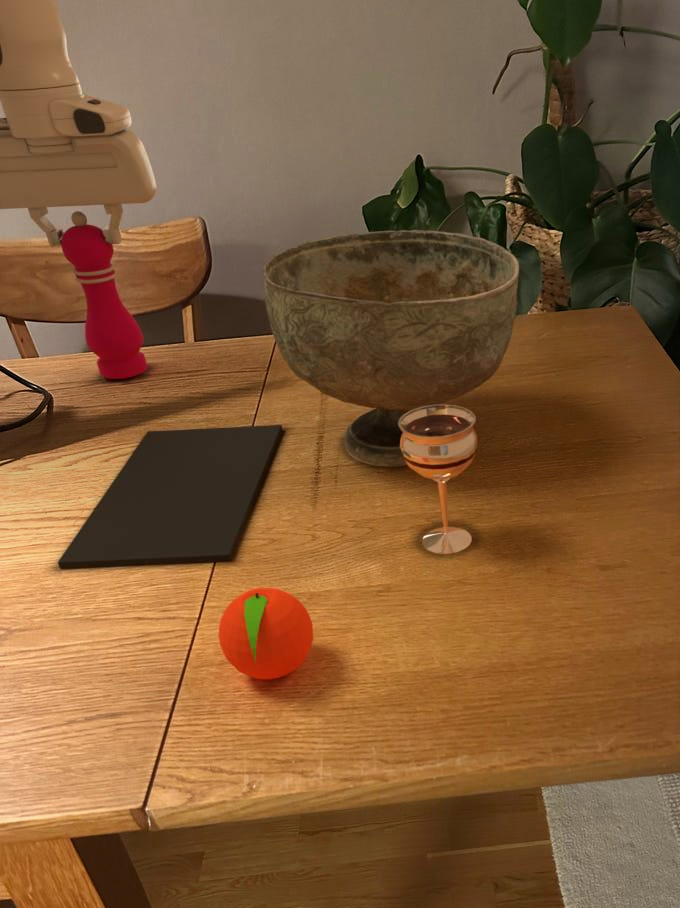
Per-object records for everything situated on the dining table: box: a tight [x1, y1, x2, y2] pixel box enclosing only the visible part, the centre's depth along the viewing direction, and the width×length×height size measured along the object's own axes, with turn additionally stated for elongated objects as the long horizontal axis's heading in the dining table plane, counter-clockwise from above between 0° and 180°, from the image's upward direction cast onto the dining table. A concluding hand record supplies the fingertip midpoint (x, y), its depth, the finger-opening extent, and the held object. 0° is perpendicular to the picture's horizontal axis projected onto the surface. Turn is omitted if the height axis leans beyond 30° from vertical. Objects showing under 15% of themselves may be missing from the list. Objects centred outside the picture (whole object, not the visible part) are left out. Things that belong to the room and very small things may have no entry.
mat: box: [57, 424, 284, 570], centre depth 88 cm, size 16×28×1 cm, turn 1°
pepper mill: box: [60, 210, 148, 380], centre depth 109 cm, size 7×7×20 cm
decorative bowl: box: [261, 229, 520, 468], centre depth 90 cm, size 26×26×20 cm
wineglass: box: [398, 403, 478, 555], centre depth 75 cm, size 7×7×12 cm
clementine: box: [218, 587, 314, 680], centre depth 63 cm, size 8×7×7 cm
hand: (87, 244), depth 105 cm, fingers closed on pepper mill, 6 cm apart
